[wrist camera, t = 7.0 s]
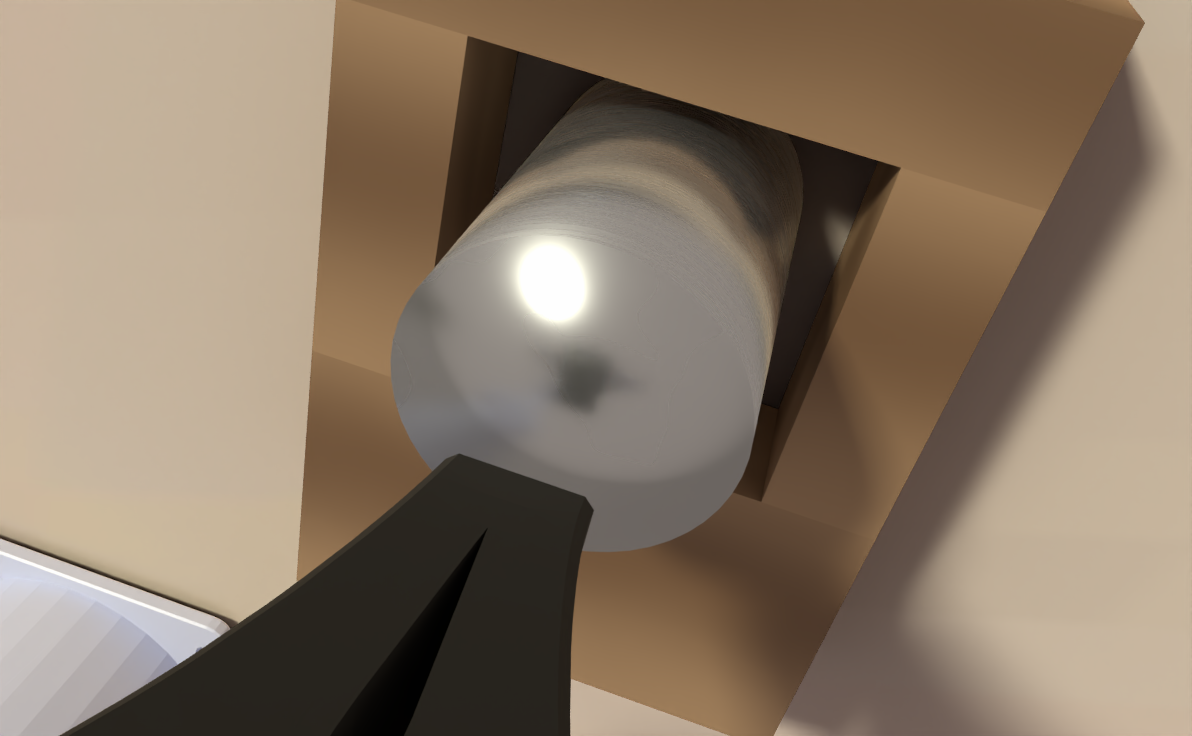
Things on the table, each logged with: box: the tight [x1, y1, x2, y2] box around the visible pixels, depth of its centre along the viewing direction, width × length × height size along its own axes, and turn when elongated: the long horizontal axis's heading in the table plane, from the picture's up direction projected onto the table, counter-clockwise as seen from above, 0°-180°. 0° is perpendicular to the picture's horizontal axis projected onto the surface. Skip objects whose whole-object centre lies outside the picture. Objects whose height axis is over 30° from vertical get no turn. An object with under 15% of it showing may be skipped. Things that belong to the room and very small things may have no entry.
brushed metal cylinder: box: [390, 78, 803, 552], centre depth 13 cm, size 4×4×6 cm
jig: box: [297, 0, 1145, 736], centre depth 16 cm, size 13×9×2 cm
